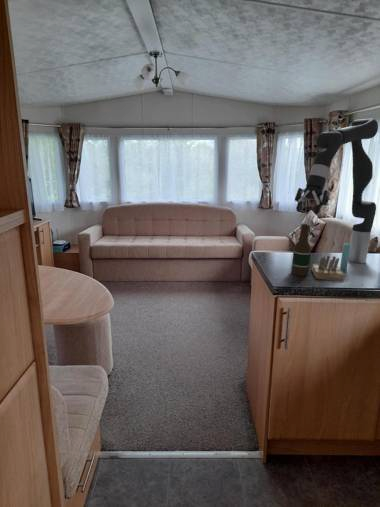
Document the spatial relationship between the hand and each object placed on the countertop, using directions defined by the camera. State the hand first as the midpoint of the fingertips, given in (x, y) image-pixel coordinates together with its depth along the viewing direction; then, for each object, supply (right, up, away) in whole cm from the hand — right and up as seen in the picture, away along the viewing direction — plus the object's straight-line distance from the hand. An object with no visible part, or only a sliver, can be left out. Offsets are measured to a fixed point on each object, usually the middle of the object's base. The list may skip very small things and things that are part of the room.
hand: (306, 212), depth 148 cm
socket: (+15, -28, +14) cm, 35 cm away
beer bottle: (+2, -28, +15) cm, 32 cm away
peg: (+25, -27, +21) cm, 42 cm away
